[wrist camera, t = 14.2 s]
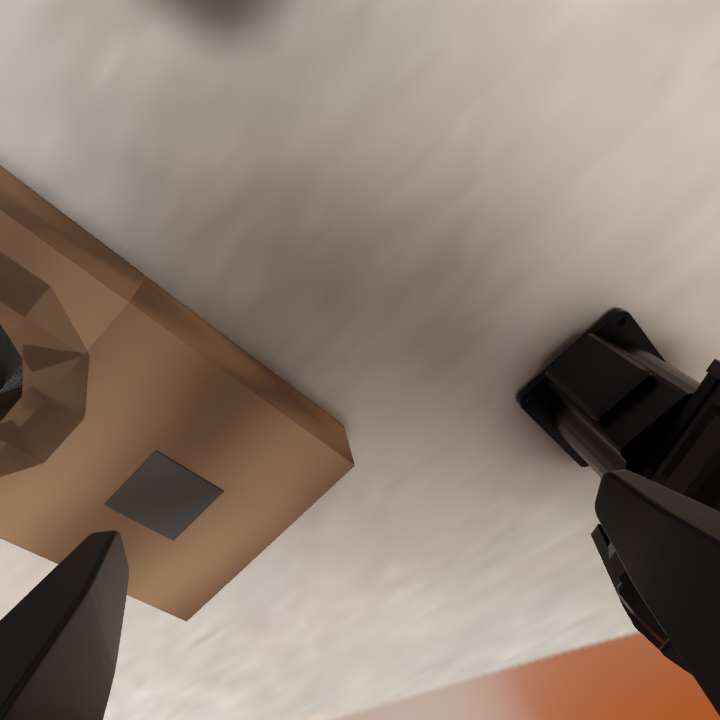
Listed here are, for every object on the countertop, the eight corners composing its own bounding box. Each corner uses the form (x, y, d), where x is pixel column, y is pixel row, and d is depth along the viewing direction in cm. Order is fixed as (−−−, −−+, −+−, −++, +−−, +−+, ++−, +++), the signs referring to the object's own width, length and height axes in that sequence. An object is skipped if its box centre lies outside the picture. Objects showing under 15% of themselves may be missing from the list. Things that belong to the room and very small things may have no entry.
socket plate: (343, 426, 24) (355, 466, 21) (194, 569, 26) (186, 622, 23) (-84, 102, 16) (-154, 99, 13) (-252, 346, 18) (-344, 387, 15)
